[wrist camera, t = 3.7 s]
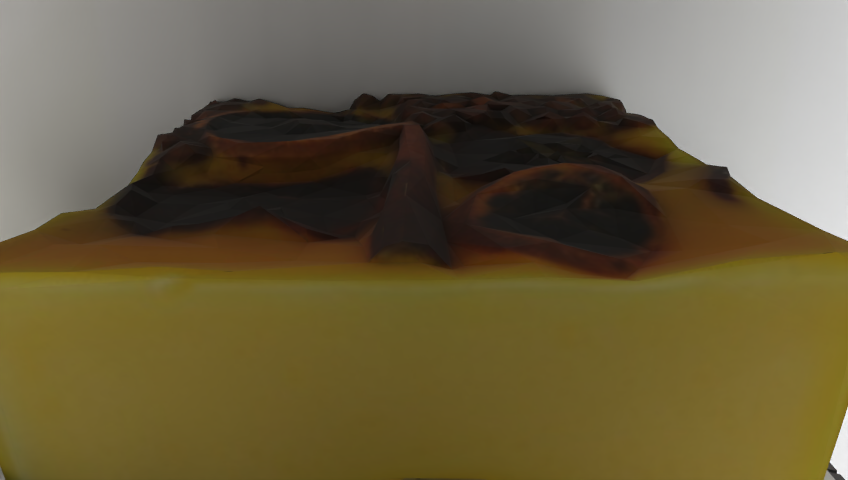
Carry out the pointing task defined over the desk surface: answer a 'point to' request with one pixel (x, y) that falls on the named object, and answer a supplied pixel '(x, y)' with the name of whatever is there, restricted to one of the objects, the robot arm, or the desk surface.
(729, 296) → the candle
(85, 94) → the desk surface
